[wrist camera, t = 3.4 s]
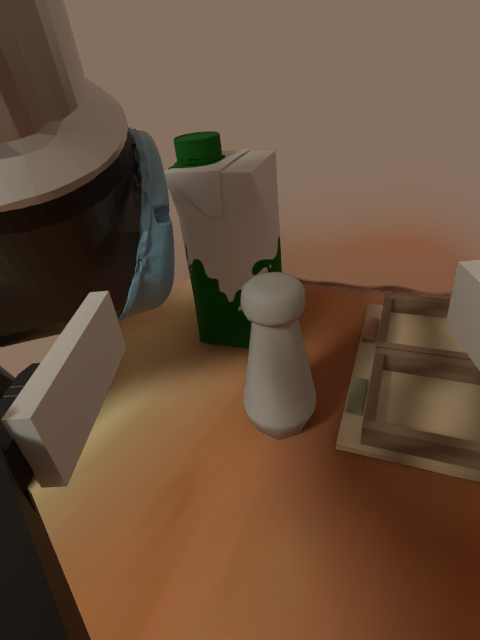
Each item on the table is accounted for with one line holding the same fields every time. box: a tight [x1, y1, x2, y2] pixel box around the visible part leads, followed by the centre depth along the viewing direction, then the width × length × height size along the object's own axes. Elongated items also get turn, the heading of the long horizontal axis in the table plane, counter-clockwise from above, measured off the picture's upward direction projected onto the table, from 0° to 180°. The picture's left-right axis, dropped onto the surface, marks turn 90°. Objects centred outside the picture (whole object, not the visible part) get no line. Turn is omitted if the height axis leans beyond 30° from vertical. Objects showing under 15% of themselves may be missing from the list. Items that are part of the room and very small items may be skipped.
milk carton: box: [164, 131, 282, 349], centre depth 40 cm, size 9×9×20 cm
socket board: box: [336, 293, 480, 482], centre depth 35 cm, size 11×20×2 cm, turn 159°
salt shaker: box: [241, 272, 316, 440], centre depth 30 cm, size 6×6×13 cm
